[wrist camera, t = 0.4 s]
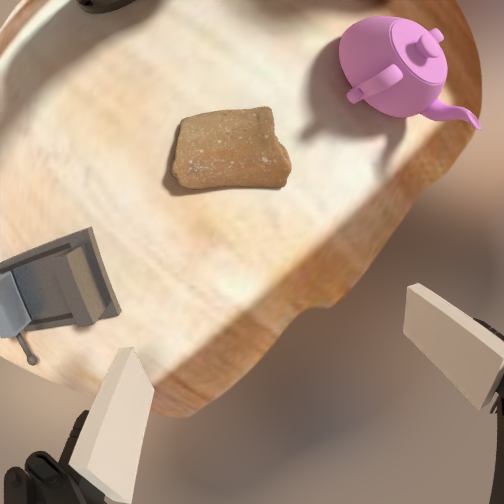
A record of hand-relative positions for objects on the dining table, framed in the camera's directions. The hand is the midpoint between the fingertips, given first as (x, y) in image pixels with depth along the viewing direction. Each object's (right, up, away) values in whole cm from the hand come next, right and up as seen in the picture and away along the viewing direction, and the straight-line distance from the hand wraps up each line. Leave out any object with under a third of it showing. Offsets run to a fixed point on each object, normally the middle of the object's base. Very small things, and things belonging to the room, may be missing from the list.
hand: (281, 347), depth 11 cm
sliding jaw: (-44, -8, +24) cm, 51 cm away
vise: (-35, -1, +25) cm, 43 cm away
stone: (-4, +18, +24) cm, 30 cm away
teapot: (+21, +32, +22) cm, 44 cm away
